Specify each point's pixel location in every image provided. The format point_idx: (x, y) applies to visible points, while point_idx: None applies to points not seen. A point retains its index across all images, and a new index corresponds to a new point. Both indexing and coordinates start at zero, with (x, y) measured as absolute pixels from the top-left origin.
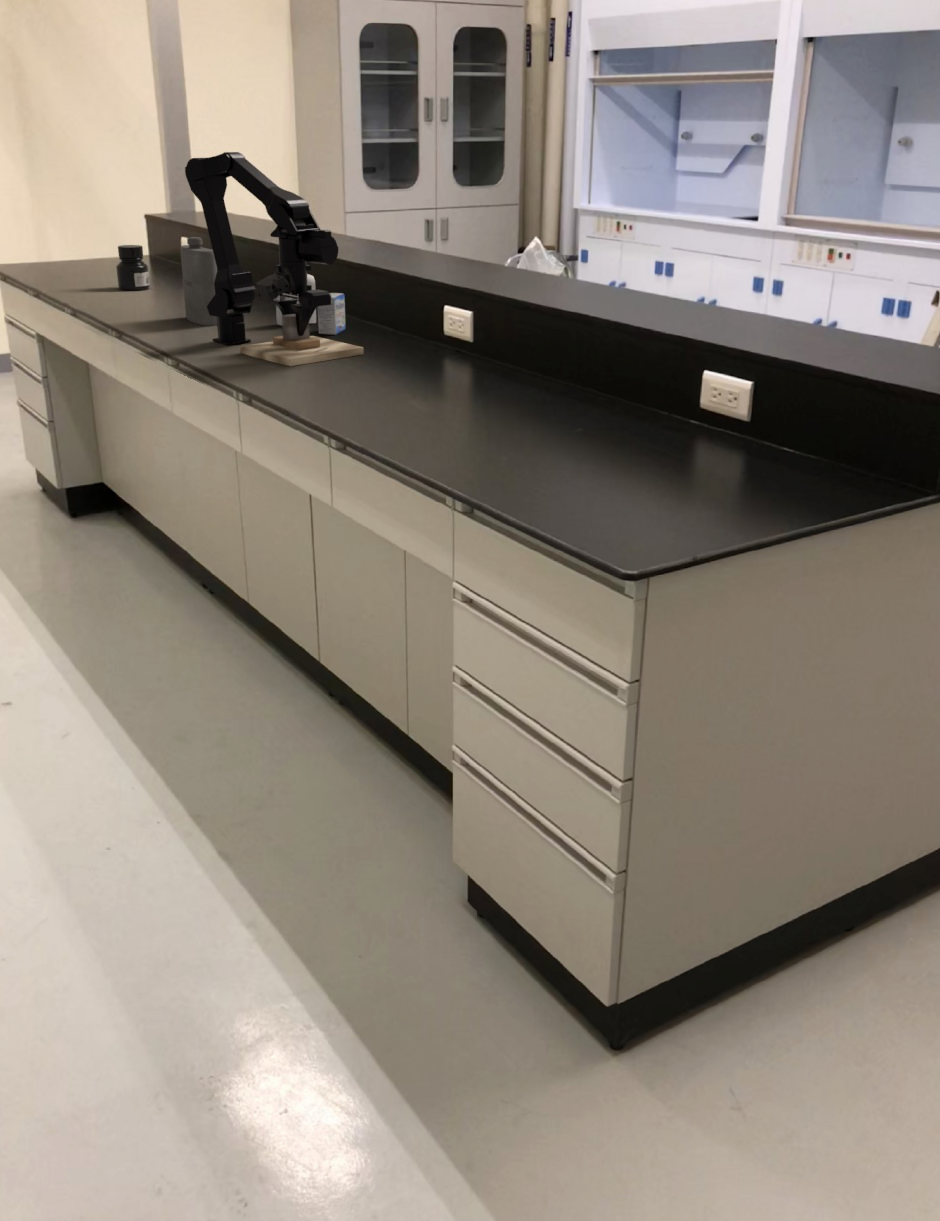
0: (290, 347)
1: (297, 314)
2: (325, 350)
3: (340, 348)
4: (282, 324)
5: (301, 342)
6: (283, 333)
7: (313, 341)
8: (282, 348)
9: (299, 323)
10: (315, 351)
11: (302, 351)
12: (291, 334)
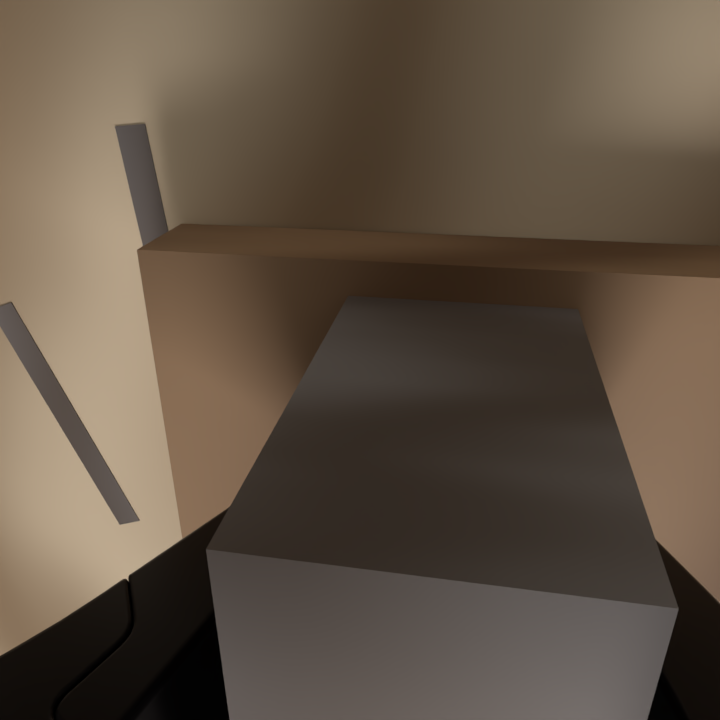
0: (344, 231)
1: (19, 704)
2: (28, 433)
3: (57, 579)
4: (609, 435)
5: (148, 314)
6: (559, 342)
7: (181, 488)
8: (420, 138)
9: (157, 558)
10: (19, 324)
11: (90, 214)
12: (323, 342)
